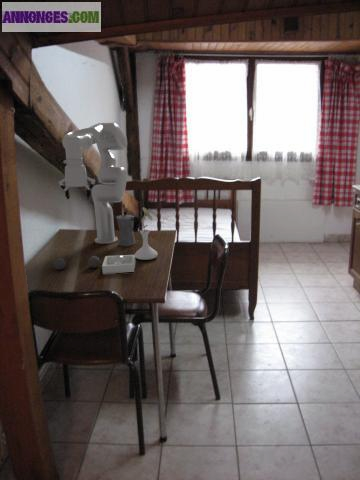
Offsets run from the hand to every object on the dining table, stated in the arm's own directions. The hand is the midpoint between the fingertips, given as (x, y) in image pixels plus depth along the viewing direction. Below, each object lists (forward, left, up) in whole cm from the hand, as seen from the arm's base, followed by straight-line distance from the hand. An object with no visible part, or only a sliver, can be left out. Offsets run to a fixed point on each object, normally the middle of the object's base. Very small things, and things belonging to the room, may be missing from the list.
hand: (78, 198), depth 228 cm
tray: (+18, +19, -30) cm, 40 cm away
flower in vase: (+4, +31, -31) cm, 44 cm away
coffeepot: (-20, +21, -31) cm, 42 cm away
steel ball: (+18, +19, -27) cm, 37 cm away
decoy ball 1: (+15, -9, -28) cm, 33 cm away
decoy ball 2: (+15, +7, -28) cm, 32 cm away
